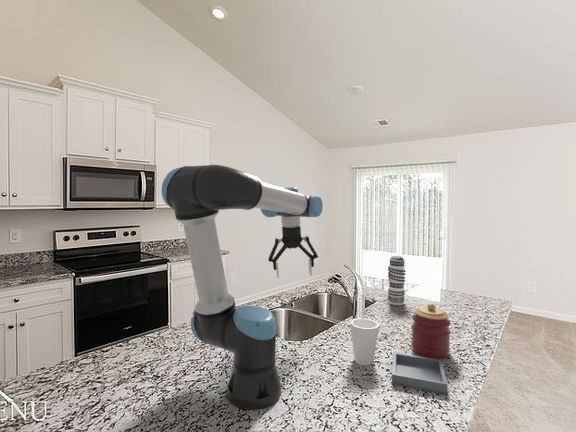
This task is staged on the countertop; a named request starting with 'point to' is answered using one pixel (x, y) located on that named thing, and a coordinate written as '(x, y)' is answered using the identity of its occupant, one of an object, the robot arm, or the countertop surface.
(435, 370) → the tray
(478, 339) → the countertop surface
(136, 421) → the countertop surface
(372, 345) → the foam cup
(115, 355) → the countertop surface
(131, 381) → the countertop surface
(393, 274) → the decorative candle
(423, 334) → the canister
